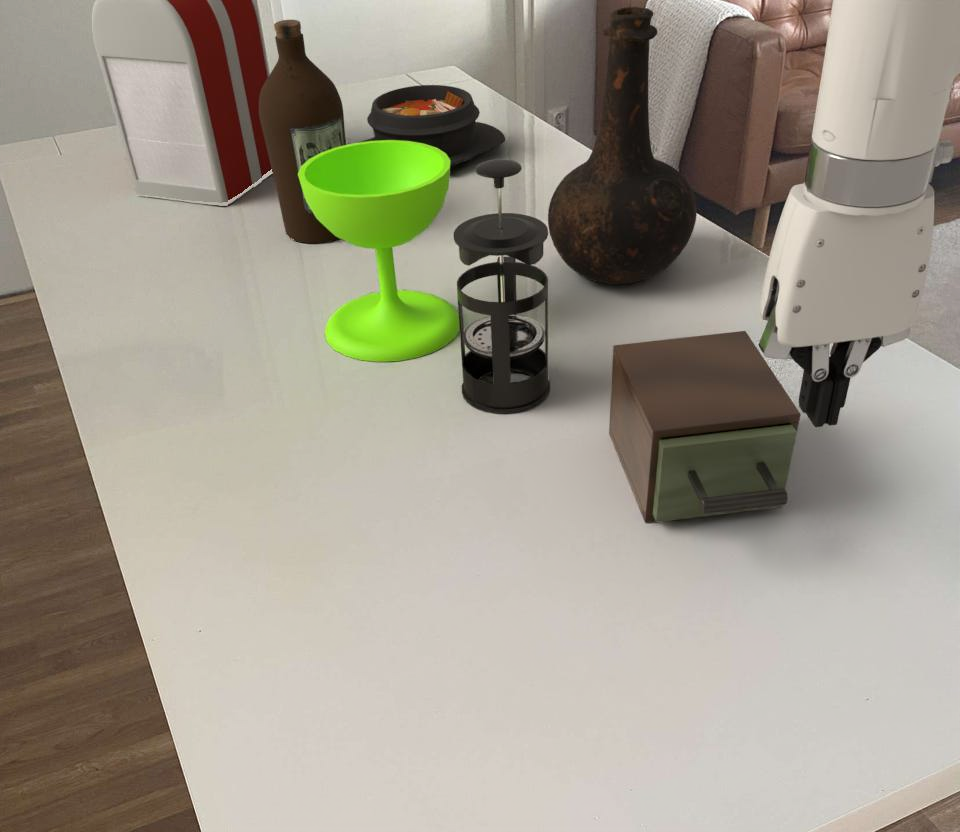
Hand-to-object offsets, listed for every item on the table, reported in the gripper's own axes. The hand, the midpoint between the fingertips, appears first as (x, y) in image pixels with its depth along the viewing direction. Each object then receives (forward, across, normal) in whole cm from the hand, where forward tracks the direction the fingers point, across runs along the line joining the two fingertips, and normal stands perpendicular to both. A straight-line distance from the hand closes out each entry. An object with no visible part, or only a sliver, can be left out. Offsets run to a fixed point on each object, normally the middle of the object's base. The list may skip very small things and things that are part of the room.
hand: (818, 416), depth 77 cm
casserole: (+14, +22, -100) cm, 103 cm away
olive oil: (+13, +39, -77) cm, 87 cm away
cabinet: (+13, +5, -13) cm, 19 cm away
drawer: (+12, +5, -9) cm, 16 cm away
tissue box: (+13, +55, -100) cm, 115 cm away
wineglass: (+13, +31, -47) cm, 58 cm away
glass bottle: (+14, +2, -56) cm, 58 cm away
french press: (+13, +20, -31) cm, 39 cm away
